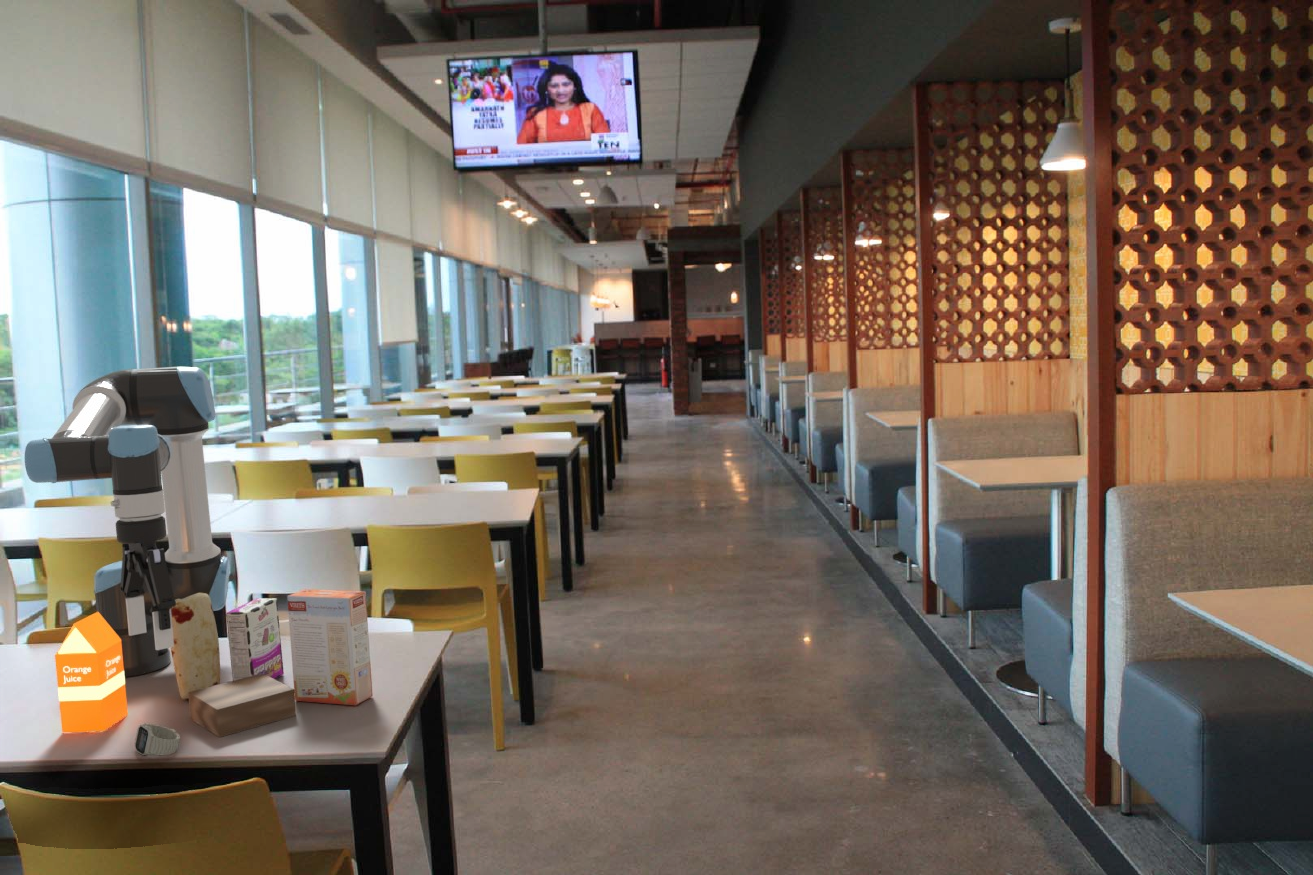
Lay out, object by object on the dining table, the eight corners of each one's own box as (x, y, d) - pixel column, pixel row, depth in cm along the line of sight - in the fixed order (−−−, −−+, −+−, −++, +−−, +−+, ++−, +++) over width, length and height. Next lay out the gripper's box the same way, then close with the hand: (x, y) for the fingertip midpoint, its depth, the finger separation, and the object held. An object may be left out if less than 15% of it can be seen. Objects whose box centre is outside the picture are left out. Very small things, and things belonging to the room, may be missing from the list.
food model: (193, 703, 201) (177, 601, 200) (169, 702, 204) (153, 601, 203) (234, 687, 210) (219, 588, 208) (210, 686, 213) (195, 589, 211)
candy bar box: (262, 674, 219) (256, 597, 218) (284, 675, 218) (278, 597, 217) (231, 692, 208) (224, 611, 207) (254, 693, 207) (247, 611, 206)
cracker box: (374, 696, 203) (367, 590, 201) (355, 707, 197) (348, 597, 195) (313, 691, 207) (306, 587, 205) (293, 701, 202) (285, 594, 200)
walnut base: (190, 718, 194) (188, 692, 194) (264, 698, 204) (262, 673, 203) (219, 737, 184) (217, 709, 184) (296, 715, 194) (294, 688, 193)
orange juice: (61, 733, 189) (50, 625, 187) (87, 716, 198) (77, 612, 196) (104, 731, 189) (94, 623, 187) (129, 714, 198) (119, 610, 196)
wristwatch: (128, 749, 181) (125, 721, 180) (165, 737, 185) (162, 710, 185) (152, 761, 175) (149, 732, 174) (189, 749, 180) (187, 721, 179)
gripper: (93, 513, 183) (104, 632, 185) (141, 528, 165) (152, 659, 167) (139, 507, 188) (149, 623, 190) (190, 521, 170) (200, 649, 172)
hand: (150, 640), depth 179 cm, fingers open, 13 cm apart
